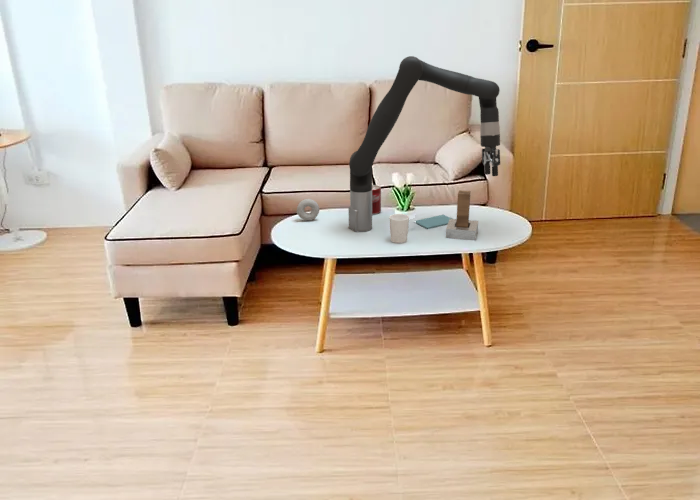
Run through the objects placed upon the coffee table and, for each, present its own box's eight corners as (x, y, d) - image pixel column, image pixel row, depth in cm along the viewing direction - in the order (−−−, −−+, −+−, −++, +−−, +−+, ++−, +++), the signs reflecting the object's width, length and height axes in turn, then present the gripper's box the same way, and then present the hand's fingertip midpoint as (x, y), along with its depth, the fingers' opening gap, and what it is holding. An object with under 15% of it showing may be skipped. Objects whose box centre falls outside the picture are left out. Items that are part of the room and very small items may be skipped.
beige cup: (386, 242, 253) (386, 219, 249) (392, 235, 259) (393, 212, 255) (405, 244, 250) (405, 221, 246) (411, 237, 256) (411, 215, 253)
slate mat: (427, 229, 265) (427, 227, 265) (413, 222, 273) (413, 221, 273) (457, 222, 272) (457, 220, 272) (443, 215, 281) (443, 214, 280)
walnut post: (467, 236, 257) (469, 194, 250) (455, 235, 258) (457, 193, 251) (468, 232, 261) (470, 191, 254) (457, 231, 262) (459, 190, 255)
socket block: (475, 240, 253) (475, 231, 251) (445, 237, 256) (446, 228, 254) (477, 229, 263) (478, 221, 262) (449, 227, 266) (449, 218, 265)
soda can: (379, 215, 283) (379, 189, 278) (363, 214, 284) (363, 189, 280) (382, 210, 289) (382, 185, 285) (366, 209, 291) (366, 184, 286)
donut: (319, 218, 280) (318, 197, 277) (320, 220, 277) (319, 199, 273) (297, 219, 279) (295, 198, 275) (297, 222, 276) (296, 200, 272)
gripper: (475, 134, 252) (476, 174, 256) (487, 135, 238) (488, 177, 242) (492, 133, 253) (494, 173, 256) (505, 133, 239) (507, 175, 243)
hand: (491, 175), depth 249 cm, fingers open, 8 cm apart
